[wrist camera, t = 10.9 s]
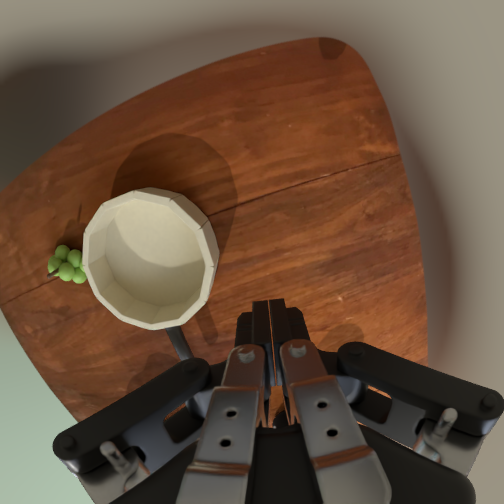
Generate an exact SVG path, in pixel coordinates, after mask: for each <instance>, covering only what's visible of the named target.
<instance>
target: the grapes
mask: <svg viewBox="0 0 504 504" xmlns="http://www.w3.org/2000/svg"><path fill="white" fill-rule="evenodd" d="M82 259H83V254H82V253H81V252H80V251H79V250H76V249H75V250H71V251H70V249H69V248H68V247H67V246H65V245H60V246H58V247H57V249H56V251H55V255H53V256H51V257H50V259H49V261H48V270H49V272H50V273H49V274H48V275H47V278H51V277H53V276H60V278H61V279H62V280H64V281H69V280H71V279H73V281H74V282H76V283H83V282H84V281H85V280H86V279H87V276H86V273H85V271H84V268H83V265H82ZM67 261H68V262H67ZM64 262H65V263H64Z"/></svg>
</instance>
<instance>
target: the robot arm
mask: <svg viewBox="0 0 504 504" xmlns="http://www.w3.org/2000/svg"><path fill="white" fill-rule="evenodd" d="M269 306H270V316H271V326H272V336H273V346H274V357H275V367H276V378H277V386H279V385H282V389H283V400H284V405H285V409H286V414H287V418H288V423H289V426H286V427H283V428H269V419H270V395H271V386H276V385H275V373H274V361H273V350H272V339H271V329H270V319H269V309H268V300H264V301H254V302H253V303H252V312H244V313H242V314H241V315H240V316H239V317H238V319H237V328H236V338H235V347H234V349H232V350H231V351H230V353H229V355H228V359H227V360H225V361H224V362H221V363H218V364H214V365H210V366H209V364H208V362H207V361H205V360H204V359H201V358H188V359H185V360H182V361H181V362H179V363H177V364H176V365H174V366H173V367H171V368H170V369H168V370H166V371H165V372H163V373H162V374H160V375H159V376H157V377H155V378H154V379H152V380H151V381H149V382H147V383H146V384H144V385H143V386H141V387H139V388H138V389H136V390H134V391H133V392H131V393H129V394H128V395H126V396H124V397H123V398H121V399H119V400H118V401H116V402H114V403H113V404H111V405H109V406H107V407H106V408H104V409H102V410H101V411H99V412H97V413H95V414H93V415H92V416H90V417H88V418H86V419H85V420H83V421H81V422H79V423H77V424H76V425H74V426H72V427H70V428H68V429H66V430H64V431H63V432H61V433H60V434H58V435H57V436H56V438H55V439H54V441H53V451H54V454H55V455H56V456H57V457H58V458H59V459H60V460H61V461H62V462H63V463H64V464H65V465H66V466H67V468H68V469H69V470H70V471H71V472H72V473H73V474H74V475H75V476H76V477H77V478H78V479H79V480H80V482H81V484H82V485H83V487H84V488H85V490H86V491H87V493H88V494H89V496H90V497H91V499H92V500H93V502H94V503H95V504H475V503H476V495H475V490H474V487H473V485H472V483H471V482H470V480H469V479H468V478H467V476H468V474H469V472H470V470H471V468H472V466H473V463H474V461H475V459H476V457H477V455H478V453H479V450H480V448H481V445H482V443H483V440H484V439H485V438H486V436H487V435H488V434H489V432H490V431H491V429H492V428H493V427H494V425H495V424H496V422H497V421H498V419H499V418H500V416H501V414H502V413H503V411H504V399H503V397H502V396H501V395H500V394H499V393H498V392H497V391H495V390H492V389H489V388H486V387H483V386H480V385H476V384H473V383H471V382H468V381H465V380H462V379H459V378H456V377H453V376H450V375H447V374H445V373H442V372H439V371H436V370H434V369H431V368H428V367H426V366H423V365H420V364H417V363H415V362H412V361H409V360H407V359H404V358H402V357H399V356H396V355H394V354H391V353H389V352H386V351H384V350H381V349H378V348H376V347H373V346H371V345H368V344H366V343H363V342H349V343H346V344H344V345H342V346H341V347H340V348H339V349H338V352H325V351H321V350H319V349H317V348H316V346H315V344H314V343H313V342H311V340H310V337H309V334H308V330H307V327H306V324H305V321H304V317H303V314H302V312H301V311H300V310H299V309H298V308H296V307H291V308H286V306H285V302H284V298H282V299H273V300H269ZM368 385H370V386H372V387H374V388H376V389H378V390H381V391H383V392H385V393H387V394H388V395H389V396H390V397H391V398H392V399H390V398H388V397H386V396H384V395H381V394H379V393H377V392H375V391H373V390H371V389H369V388H368ZM184 402H185V404H186V406H185V407H184V408H182V409H181V410H180V411H178V412H177V413H175V414H174V415H173V416H171V417H170V418H168V419H167V420H165V421H164V419H165V417H166V416H167V415H168V414H169V413H170V412H172V411H173V410H175V409H176V408H178V407H179V406H180V405H182V404H183V403H184ZM357 421H358V422H360V423H362V424H364V425H366V426H364V425H361V424H358V423H357ZM382 434H383V435H382ZM384 435H385V436H384ZM386 436H387V437H386ZM388 437H389V438H388ZM198 438H199V440H197V439H198ZM390 438H391V439H390ZM392 439H393V440H395V441H397V442H399V443H401V444H403V445H406V446H408V447H410V448H412V449H413V450H411V449H409V448H407V447H405V446H403V445H401V444H399V443H397V442H395V441H393V440H392ZM196 440H197V441H196ZM161 466H162V467H161ZM158 468H159V469H158ZM157 469H158V470H157ZM154 471H155V472H154ZM153 472H154V473H153ZM151 473H152V474H151ZM150 474H151V475H150Z"/></svg>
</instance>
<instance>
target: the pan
mask: <svg viewBox="0 0 504 504" xmlns="http://www.w3.org/2000/svg"><path fill="white" fill-rule="evenodd" d="M219 255H220V254H219V249H218V246H217V241H216V237H215V234H214V231H213V229H212V227H211V224H210V221H209V220H208V218H207V217H206V216H205V215H204V214H203V212H202V211H201V210H200V209H199V208H198V207H197V206H196V205H195V204H194V203H192V202H191V201H190V200H188V199H187V198H186V197H185V196H184V195H182V194H180V193H175V192H172V191H168V190H163V189H157V188H152V187H148V188H143V189H138V190H133V191H130V192H128V193H125V194H123V195H120V196H118V197H116V198H113V199H111V200H109V201H106V202H104V203H103V204H101V206H100V207H99V209H98V210H97V212H96V213H95V215H94V216H93V218H92V220H91V221H90V223H89V224H88V226H87V227H86V229H85V232H84V238H83V259H82V265H83V268H84V271H85V273H86V276H87V278H88V281H89V283H90V285H91V288H92V290H93V292H94V294H95V296H97V299H98V300H99V301H100V302H101V303H102V304H103V305H104V306H106V307H107V308H108V309H109V310H110V311H111V312H112V313H113V314H114V315H115V316H116V317H117V318H119V319H121V318H122V319H121V320H122V321H124V322H127V323H130V324H133V325H136V326H139V327H142V328H146V329H149V330H157V329H162V328H165V329H166V331H167V334H168V336H169V338H170V340H171V342H172V344H173V346H174V348H175V350H176V352H177V354H178V356H179V358H180V360H181V361H182V360H185V359H188V358H194V356H193V353H192V351H191V349H190V347H189V345H188V343H187V341H186V339H185V336H184V334H183V332H182V330H181V328H180V325H182V324H184V323H185V322H187V321H188V320H189V319H190V318H191V317H192V316H193V315H194V314H195V313H196V312H197V311H198V310H199V309H200V308H201V307H202V306H203V305H204V304H205V303H206V301H207V300H208V297H209V294H210V291H211V288H212V285H213V281H214V277H215V272H216V269H217V264H218V259H219Z"/></svg>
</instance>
